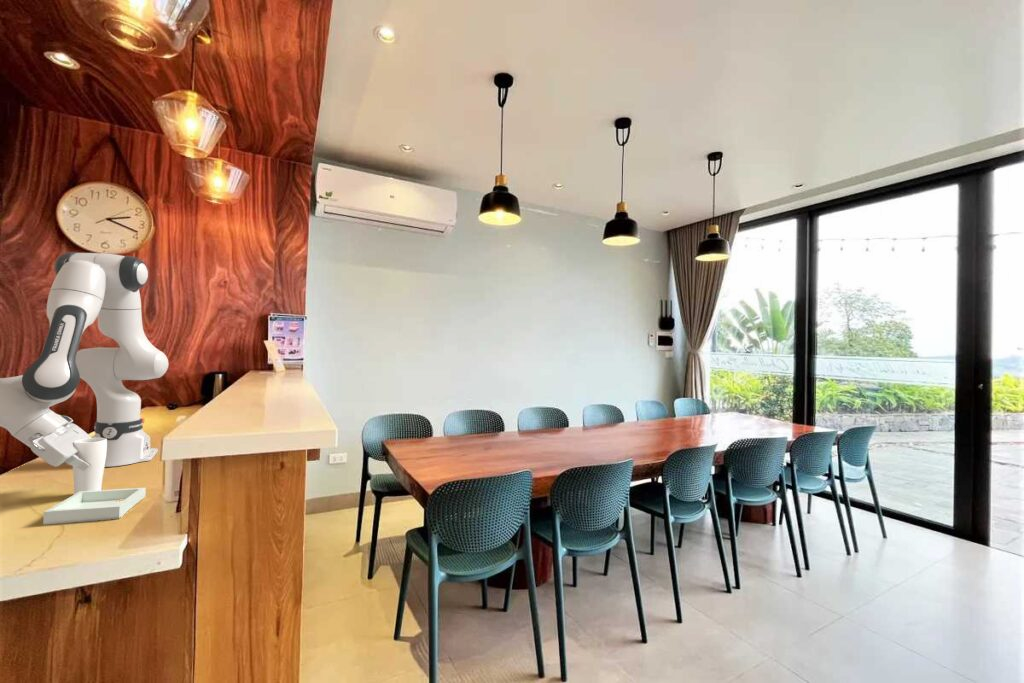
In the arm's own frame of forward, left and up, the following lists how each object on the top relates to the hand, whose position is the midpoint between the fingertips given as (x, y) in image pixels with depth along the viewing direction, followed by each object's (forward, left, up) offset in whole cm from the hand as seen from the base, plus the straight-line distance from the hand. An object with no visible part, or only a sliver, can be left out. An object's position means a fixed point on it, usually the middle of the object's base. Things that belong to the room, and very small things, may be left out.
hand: (92, 464), depth 119 cm
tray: (+13, +7, -8) cm, 17 cm away
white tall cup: (0, -1, -9) cm, 9 cm away
